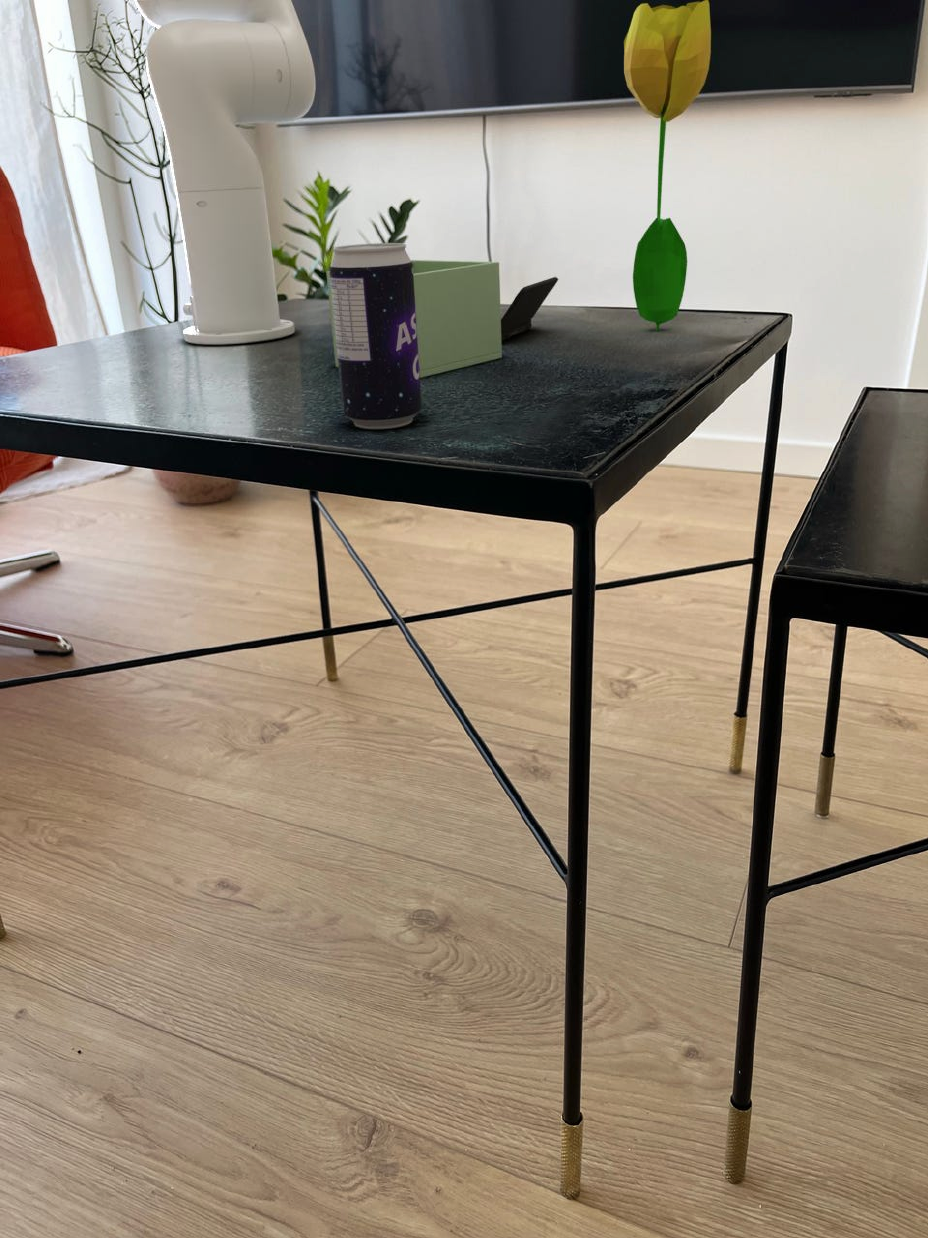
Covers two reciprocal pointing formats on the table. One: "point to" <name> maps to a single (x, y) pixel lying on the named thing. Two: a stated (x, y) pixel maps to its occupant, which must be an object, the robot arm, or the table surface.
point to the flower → (664, 86)
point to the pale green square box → (452, 314)
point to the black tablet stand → (525, 307)
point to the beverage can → (376, 334)
